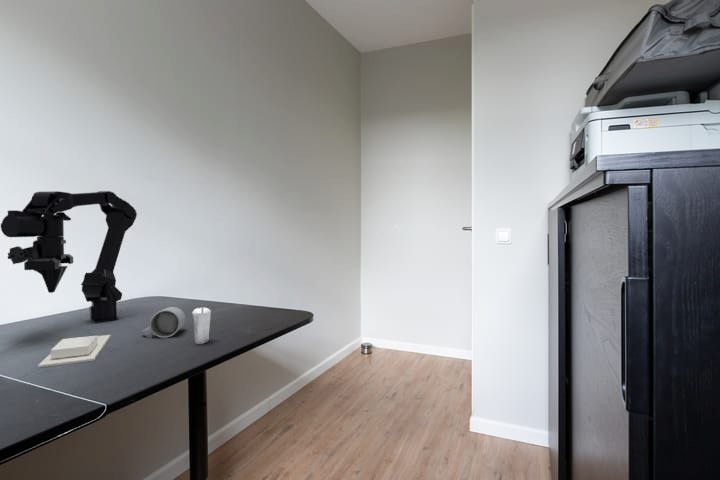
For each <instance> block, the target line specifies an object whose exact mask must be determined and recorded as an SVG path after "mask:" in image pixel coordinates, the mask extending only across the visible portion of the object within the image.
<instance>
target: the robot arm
mask: <svg viewBox="0 0 720 480" xmlns="http://www.w3.org/2000/svg"><path fill="white" fill-rule="evenodd" d="M91 205H99V207H100V211H101V212H102V213H104V215H105V222H106V225H107V228H108V229H107V232H106V234H105V237H104V240H103V244H102V247H101V250H100V253H99V256H98V259H97V262H96V265H95V268H94V269H93V270H92V271H91V272H85V273H84V275H83V281H82V282H81V284H80V285H81V292H82V294H83V295H84V298H85V301H86V303H87V302H91V305H89V320H91V322H93V323H102V322H107V321H115V320H119V317H118V313H117V311H118V309H117V305H118V304H117V302H118V301H122V296H123V292H122V291H120V290H119V289H118V288H117V287H116V283H117V282H116V281H117V279H116V276H115V272H114V270H115V267H116V263H117V260H118V257H119V254H120V250H121V247H122V244H123V242H124V241H123V240H124V237H125V234H126V232H127V230H129V229H130V228H131V227H132V226H133V224H134V223H135V220H136V218H137V215H138V213H137V210H136V209H135V207H133V206H132V205H131V204H130V203H129V202H128V201H126V200H125V199H123V198H121V197H119V196H117V194H116V193H115V192H113V191H109V190H108V191H107V190H104V191H103V190H101V191H100V190H99V191H95V192H82V193H71V192H66V191H60V190H58V191H37V192H34V193H33V194H32V197H31V200H29V202H28V204H26V205H25V207H24V208H23V209H22V211H21V210H13V209H11V210H7V215H6V216H5V217H3V219H2V221H1V223H0V230H1V232H2V234H3V235H4V236H5V237H7V238H34V237H35V238H36V240H33V241H32V246H28V247H25V248H22V247H21V246H14V247H10V248H9V252H8V253H7V255H8V256H7V259H8V260H11V262H12V264H13V265H15V264H21V263H24V266H23V269H24V271H34V272H37V273H38V274H40V275H41V276H42V278H43V282H44V284H45V286H46V289H47V291H48V293H50V294H51V293H55V291H56V290H57V287H58V286H59V284H60V281H61V280H62V278H63V276H64V274H65V272H66V270H67V268H68V265H72V264H74V256H72V255H71V254H70V253H69V254H66V253H65V245H66V243H67V239H65V237H64V235H65V234H64V233H65V232H64V228H65V227H64V221H65V222H66V221H67V222H68V221H71V220H72V218H71V217H70V216H69V215H67V214H66V213H65V211H69V210H72V209H73V208H75V207H81V206H82V207H83V206H91ZM62 264H68V265H64V266H63V265H62Z"/></svg>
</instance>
